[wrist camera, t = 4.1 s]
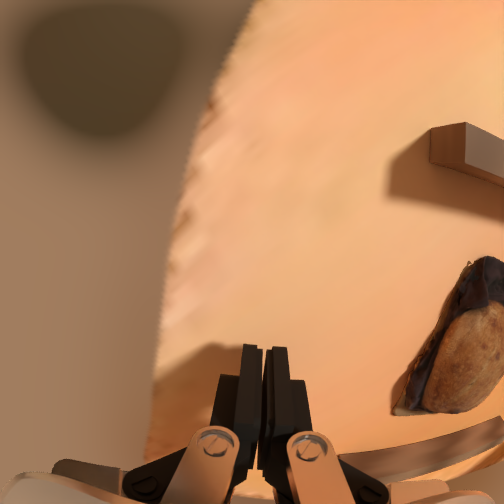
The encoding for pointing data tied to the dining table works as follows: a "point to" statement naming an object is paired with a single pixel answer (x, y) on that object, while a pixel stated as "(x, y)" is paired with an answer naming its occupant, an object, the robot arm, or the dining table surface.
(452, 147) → the shelf lane
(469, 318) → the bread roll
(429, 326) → the dining table surface
